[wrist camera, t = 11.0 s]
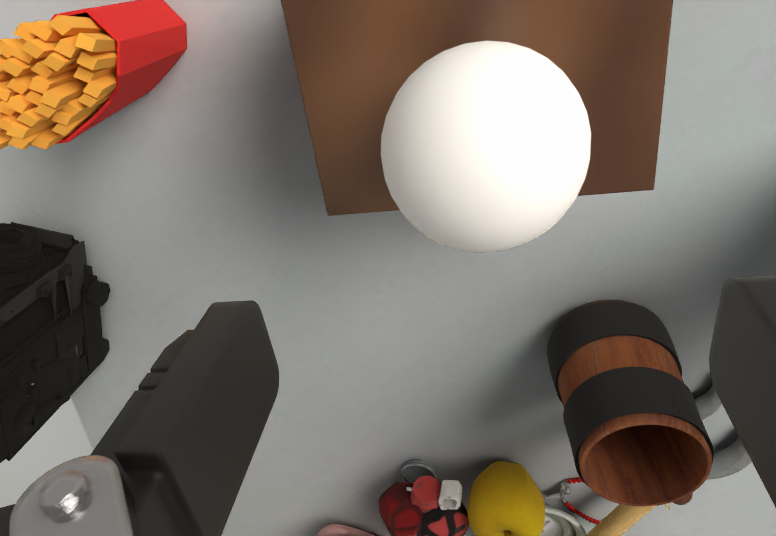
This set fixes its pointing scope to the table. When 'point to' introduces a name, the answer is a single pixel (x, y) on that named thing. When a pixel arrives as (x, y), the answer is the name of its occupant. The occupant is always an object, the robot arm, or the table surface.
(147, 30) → the french fries
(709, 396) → the novelty tool
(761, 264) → the table surface
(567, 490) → the necklace
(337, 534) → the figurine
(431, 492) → the grenade
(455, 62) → the lightbulb
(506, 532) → the apple
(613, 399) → the mug
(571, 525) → the saucer
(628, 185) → the shelf
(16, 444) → the camera
